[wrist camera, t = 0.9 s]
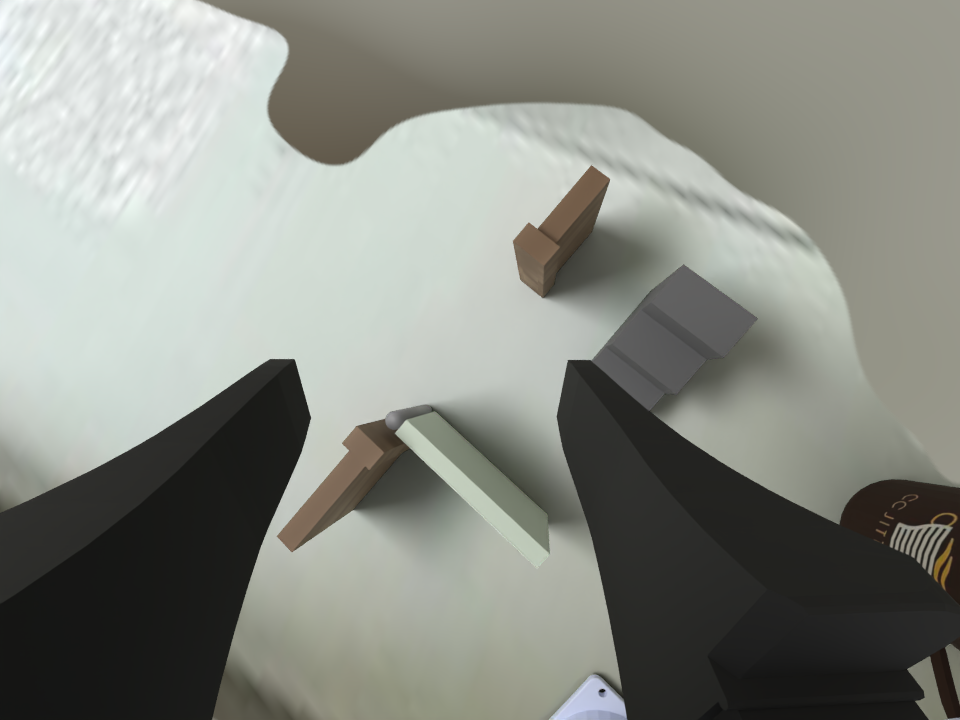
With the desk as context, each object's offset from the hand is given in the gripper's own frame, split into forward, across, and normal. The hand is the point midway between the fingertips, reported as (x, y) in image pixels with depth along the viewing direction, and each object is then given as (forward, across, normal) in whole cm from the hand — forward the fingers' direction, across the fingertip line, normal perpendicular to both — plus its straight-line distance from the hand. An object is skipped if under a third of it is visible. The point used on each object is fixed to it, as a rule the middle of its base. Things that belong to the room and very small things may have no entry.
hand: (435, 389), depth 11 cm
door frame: (+14, -1, +9) cm, 17 cm away
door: (+10, -2, +14) cm, 17 cm away
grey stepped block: (+12, -13, +7) cm, 19 cm away
